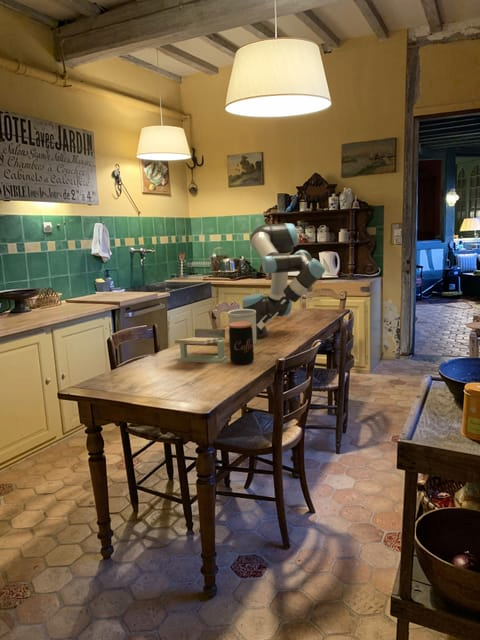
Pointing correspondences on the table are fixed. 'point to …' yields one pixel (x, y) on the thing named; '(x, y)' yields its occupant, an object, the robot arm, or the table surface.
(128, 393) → the table surface
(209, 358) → the seesaw stand
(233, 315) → the utensil holder
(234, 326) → the coffee jar
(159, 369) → the table surface
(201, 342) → the seesaw plank
